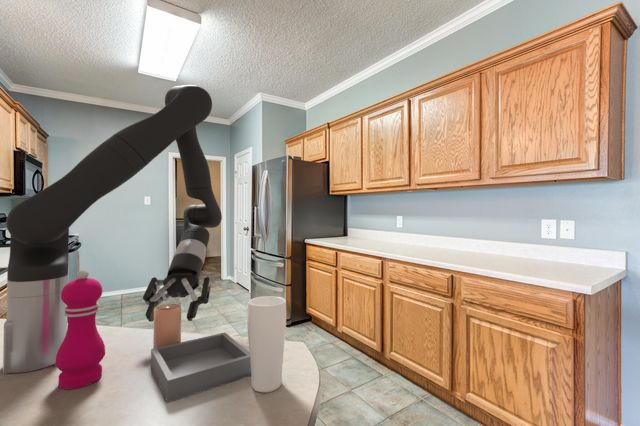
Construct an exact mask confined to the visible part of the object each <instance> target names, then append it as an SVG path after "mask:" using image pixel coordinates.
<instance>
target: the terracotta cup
mask: <svg viewBox="0 0 640 426" xmlns="http://www.w3.org/2000/svg"><path fill="white" fill-rule="evenodd" d="M152 342H153V348H152V349H154V348H158V347H163V346H167V345H172V344H176V343H180V342H182V305H181V304H179V303H166V304H165V303H164V304H160V305H158V306H157V307H155V308H154V321H153V341H152Z"/></svg>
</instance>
